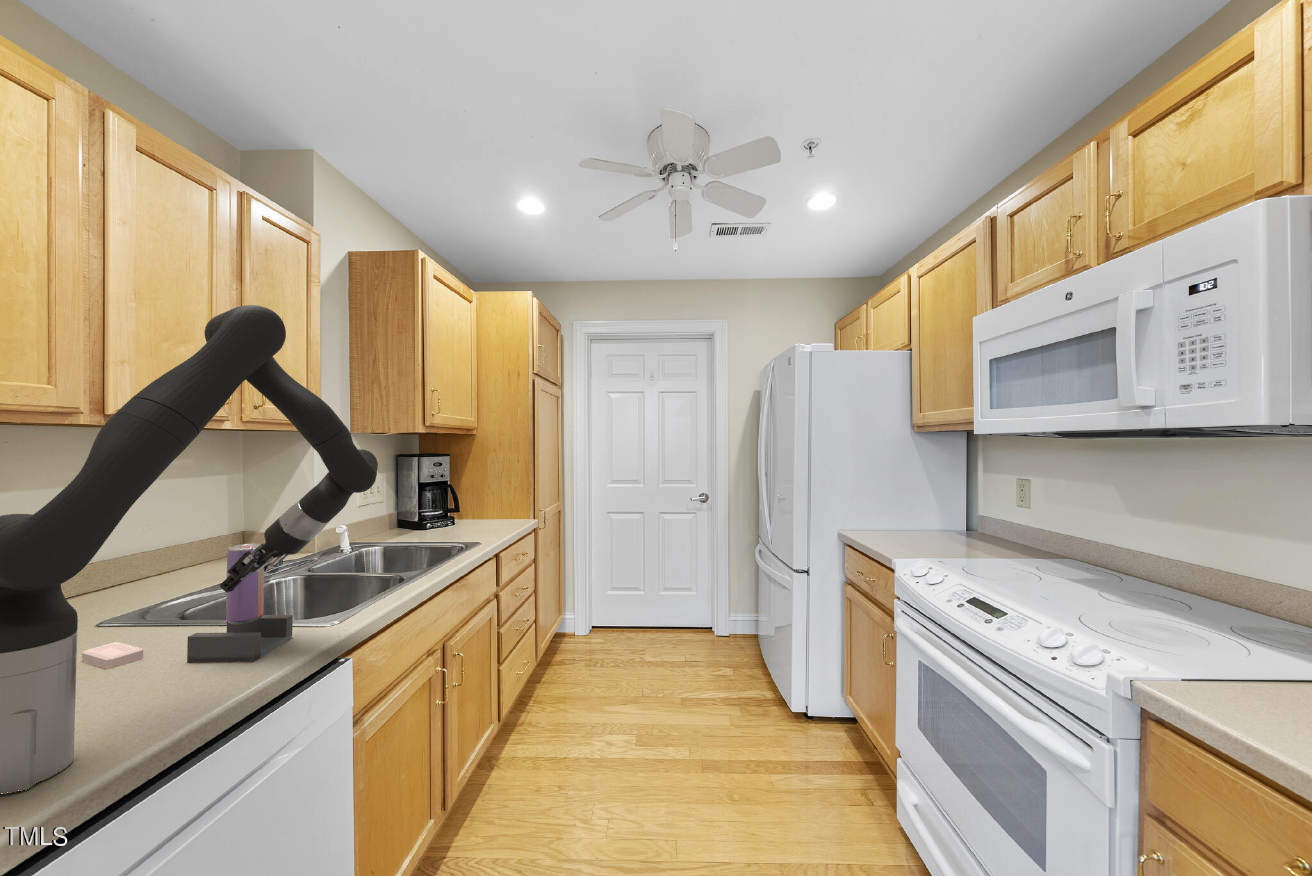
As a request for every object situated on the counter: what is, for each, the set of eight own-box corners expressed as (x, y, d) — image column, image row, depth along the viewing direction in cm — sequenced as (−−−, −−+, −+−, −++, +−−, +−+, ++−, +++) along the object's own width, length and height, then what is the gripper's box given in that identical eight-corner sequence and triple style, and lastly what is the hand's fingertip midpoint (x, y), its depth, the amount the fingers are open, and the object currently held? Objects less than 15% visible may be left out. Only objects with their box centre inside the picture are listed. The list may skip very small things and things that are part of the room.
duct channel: (292, 637, 111) (292, 614, 111) (253, 661, 99) (254, 636, 99) (233, 638, 110) (233, 615, 110) (187, 662, 98) (187, 636, 98)
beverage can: (242, 625, 101) (243, 550, 101) (218, 623, 102) (219, 548, 103) (270, 615, 107) (271, 544, 107) (247, 613, 108) (248, 542, 108)
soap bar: (118, 652, 103) (118, 640, 103) (144, 659, 100) (144, 647, 100) (80, 663, 98) (80, 650, 98) (107, 671, 95) (107, 658, 95)
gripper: (305, 508, 113) (247, 562, 112) (260, 518, 98) (193, 581, 97) (330, 532, 113) (272, 587, 112) (289, 546, 99) (222, 609, 98)
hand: (236, 584), depth 105 cm, fingers closed on beverage can, 5 cm apart
